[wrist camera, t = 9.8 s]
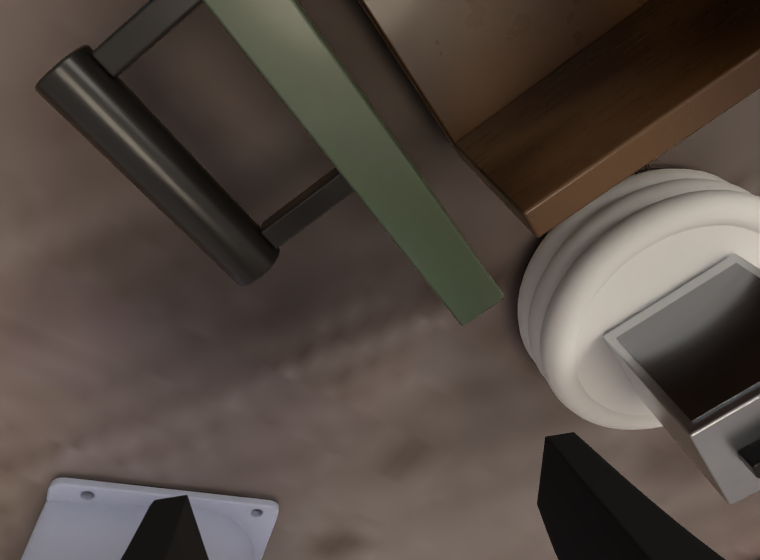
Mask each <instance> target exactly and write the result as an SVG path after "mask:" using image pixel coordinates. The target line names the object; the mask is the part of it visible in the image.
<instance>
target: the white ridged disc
mask: <svg viewBox="0 0 760 560" xmlns="http://www.w3.org/2000/svg"><path fill="white" fill-rule="evenodd" d="M732 254H737V255H738V256H740V257H742V258H743V259H745V260H746V261H748V262H750V263H751V264H753V265H754V266H756V267H758V268H759V269H760V197H758V196H755V195H752V194H751V193H750V192H748V191H746V190H744V189H742V188H740V187H739V186H736V185H733V184H730V183H729V182H727V181H725V180H723V179H721V178H719V177H718V176H715V175H712V174H709V173H706V172H703V171H697V170H691V169H658V170H651V171H646V172H642V173H638V174H634V175H631V176H629V177H628V178H626V179H625V180H623V181H622V182H620V183H619V184H617V185H616V186H614V187H613V188H611V189H610V190H608V191H607V192H606V193H604V194H603V195H601V196H600V197H598V198H597V199H595V200H594V201H592V202H591V203H589V204H588V205H586V206H585V207H583V208H582V209H580V210H579V211H577V212H576V213H575V214H573V215H572V216H570V217H569V218H567V219H566V220H564V221H563V222H561V223H560V224H558V225H557V226H555V227H554V228H552V229H551V230H550V231H549V233H548V234H547V235H546V237H545V238H544V239H543V240H542V242H541V243H540V245H539V246H538V248H537V250H536V251H535V253H534V255H533V256H532V258H531V260H530V262H529V264H528V267H527V269H526V271H525V273H524V276H523V280H522V283H521V286H520V290H519V297H518V323H519V329H520V335H521V338H522V341H523V344H524V346H525V348H526V350H527V352H528V354H529V355H530V357H531V358H532V359H533V361H534V362H535V363H536V365H537V367H538V369H539V371H540V372H541V374H542V375H543V376H544V378H545V379H546V380H547V382H548V384H549V386H550V388H551V390H552V391H553V392H554V394H555V395H556V396H557V398H558V399H559V400H560V401H561V402H562V403H563V404H564V405H565V406H566V407H567V408H568V409H570V410H571V411H572V412H574V413H575V414H577V415H578V416H580V417H581V418H583V419H585V420H587V421H589V422H591V423H593V424H596V425H600V426H603V427H607V428H614V429H624V430H637V429H650V428H656V427H662V426H663V425H662V424H661V423H660V422H659V421H658V419H657V418H656V417H655V416H654V415H653V413H652V412H651V411H650V410H649V409H648V407H647V406H646V405H645V404H644V403H643V401H642V400H641V398H640V397H639V395H638V393H637V392H636V390H635V388H634V387H633V385H632V384H631V382H630V380H629V379H628V377H627V376H626V374H625V372H624V371H623V369H622V367H621V366H620V364H619V363H618V361H617V359H616V358H615V356H614V355H613V353H612V351H611V350H610V348H609V346H608V345H607V343H606V342H605V340H604V338H603V336H604V335H605V334H607V333H608V332H610V331H612V330H613V329H615V328H616V327H618V326H619V325H621V324H623V323H624V322H626V321H627V320H629V319H631V318H632V317H634V316H635V315H637V314H639V313H640V312H642V311H643V310H645V309H647V308H648V307H650V306H651V305H653V304H654V303H656V302H658V301H659V300H661V299H662V298H664V297H666V296H667V295H669V294H670V293H672V292H674V291H675V290H677V289H678V288H680V287H681V286H683V285H685V284H686V283H688V282H689V281H691V280H693V279H694V278H696V277H697V276H699V275H701V274H702V273H704V272H705V271H707V270H708V269H710V268H712V267H713V266H715V265H716V264H718V263H720V262H721V261H723V260H724V259H726V258H728V257H729V256H731V255H732Z"/></svg>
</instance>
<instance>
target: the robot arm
mask: <svg viewBox="0 0 760 560" xmlns="http://www.w3.org/2000/svg"><path fill="white" fill-rule="evenodd" d="M86 491H89V492H86ZM537 505H538V508H539V510H540V513H541V516H542V519H543V522H544V524H545V527H546V530H547V533H548V535H549V538H550V540H551V543H552V546H553V548H554V551H555V553H556V555H557V557H558V559H559V560H725V559H724V558H722V557H721V556H720V555H718V554H717V553H716V552H714V551H713V550H712V549H711V548H709V547H708V546H707V545H705V544H704V543H703V542H701V541H700V540H699V539H698V538H696V537H695V536H694V535H692V534H691V533H690V532H689V531H687V530H686V529H685V528H684V527H682V526H681V525H680V524H679V523H677V522H676V521H675V520H674V519H673V518H671V517H670V516H669V515H668V514H667V513H665V512H664V511H663V510H662V509H661V508H659V507H658V506H657V505H656V504H655V503H653V502H652V501H651V500H650V499H649V498H647V497H646V496H645V495H644V494H643V493H642V492H640V491H639V490H638V489H637V488H636V487H635V486H634V485H632V484H631V483H630V482H629V481H628V480H627V479H626V478H624V477H623V476H622V475H621V474H620V473H619V472H618V471H617V470H615V469H614V468H613V467H612V466H611V465H610V464H609V463H608V462H607V461H605V460H604V459H603V458H602V457H601V456H600V455H599V454H598V453H597V452H595V451H594V450H593V449H592V448H591V447H590V446H589V445H588V444H587V443H585V442H584V441H583V440H582V439H581V438H580V437H579V436H578V435H576V434H575V433H574V432H572V433H566V434H559V435H553V436H547V437H545V444H544V452H543V460H542V468H541V476H540V485H539V493H538V501H537ZM255 509H258V510H255ZM278 513H279V506H278V504H277V503H276V502H275V501H272V500H265V499H256V498H247V497H238V496H229V495H220V494H211V493H202V492H192V491H183V490H174V489H165V488H156V487H147V486H138V485H129V484H120V483H111V482H102V481H93V480H84V479H75V478H66V477H60V478H57V479H54V480H53V481H52V482H51V484H50V486H49V488H48V491H47V499H46V503H45V505H44V507H43V510H42V512H41V514H40V516H39V519H38V521H37V523H36V525H35V528H34V530H33V532H32V535H31V537H30V539H29V541H28V544H27V546H26V548H25V550H24V553H23V555H22V557H21V560H261V559H262V556H263V554H264V551H265V548H266V546H267V543H268V540H269V538H270V535H271V533H272V530H273V527H274V525H275V522H276V519H277V517H278Z"/></svg>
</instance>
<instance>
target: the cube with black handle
mask: <svg viewBox="0 0 760 560" xmlns="http://www.w3.org/2000/svg"><path fill="white" fill-rule="evenodd" d="M603 338H604V340H605V342H606V343H607V345H608V346H609V348H610V350H611V351H612V353H613V355H614V356H615V358H616V359H617V361H618V363H619V364H620V366H621V367H622V369H623V371H624V372H625V374H626V376H627V377H628V379H629V380H630V382H631V384H632V385H633V387H634V388H635V390H636V392H637V393H638V395H639V397H640V398H641V400H642V401H643V403H644V404H645V405H646V406H647V407H648V409H649V410H650V411H651V412H652V413H653V415H654V416H655V417H656V418H657V419H658V421H659V422H660V423H661V424H662V425H663V427H664V428H665V429H666V430H667V431H668V433H669V434H670V435H671V436H672V437H673V439H674V440H675V441H676V442H677V443H678V444H679V446H680V447H681V448H682V449H683V450H684V452H685V453H686V454H687V455H688V456H689V458H690V459H691V460H692V461H693V462H694V464H695V465H696V466H697V467H698V468H699V470H700V471H701V472H702V473H703V474H704V476H705V477H706V478H707V479H708V480H709V482H710V483H711V484H712V485H713V486H714V488H715V489H716V490H717V491H718V492H719V494H720V495H721V496H722V497H723V498H724V500H725V501H726V502H727V503H728V504H729V505H733V504H735V503H736V502H738V501H740V500H742V499H744V498H746V497H747V496H749V495H751V494H753V493H755V492H757V491H758V490H760V269H759V268H758V267H756V266H754V265H753V264H751V263H750V262H748V261H746V260H745V259H743V258H742V257H740V256H738V255H737V254H732V255H731V256H729V257H728V258H726V259H724V260H723V261H721V262H720V263H718V264H716V265H715V266H713V267H712V268H710V269H708V270H707V271H705V272H704V273H702V274H701V275H699V276H697V277H696V278H694V279H693V280H691V281H689V282H688V283H686V284H685V285H683V286H681V287H680V288H678V289H677V290H675V291H674V292H672V293H670V294H669V295H667V296H666V297H664V298H662V299H661V300H659V301H658V302H656V303H654V304H653V305H651V306H650V307H648V308H647V309H645V310H643V311H642V312H640V313H639V314H637V315H635V316H634V317H632V318H631V319H629V320H627V321H626V322H624V323H623V324H621V325H619V326H618V327H616V328H615V329H613V330H612V331H610V332H608V333H607V334H605V335H604V336H603Z"/></svg>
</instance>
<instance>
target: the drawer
mask: <svg viewBox="0 0 760 560" xmlns="http://www.w3.org/2000/svg"><path fill="white" fill-rule="evenodd" d="M203 2H204V4H205V5H206V6H207V7H208V9H209V10H210V11H211V12H212V14H213V15H214V16H215V17H216V19H217V20H218V21H219V22H220V24H221V25H222V26H223V28H224V29H225V30H226V31H227V33H228V34H229V35H230V36H231V38H232V39H233V40H234V41H235V43H236V44H237V45H238V46H239V48H240V49H241V50H242V51H243V53H244V54H245V55H246V56H247V58H248V59H249V60H250V61H251V63H252V64H253V65H254V66H255V68H256V69H257V70H258V71H259V73H260V74H261V75H262V76H263V78H264V79H265V80H266V81H267V83H268V84H269V85H270V86H271V88H272V89H273V90H274V91H275V93H276V94H277V95H278V96H279V98H280V99H281V100H282V101H283V103H284V104H285V105H286V106H287V108H288V109H289V110H290V111H291V113H292V114H293V115H294V117H295V118H296V119H297V120H298V122H299V123H300V124H301V125H302V127H303V128H304V129H305V130H306V132H307V133H308V134H309V135H310V137H311V138H312V139H313V140H314V142H315V143H316V144H317V145H318V147H319V148H320V149H321V150H322V152H323V153H324V154H325V155H326V157H327V158H328V159H329V160H330V162H331V163H332V164H333V165H334V167H335V168H334V169H332V170H331V171H330V172H328V173H327V174H326V175H325V176H323V177H322V178H321V179H319V180H318V181H317V182H315V183H314V184H313V185H311V186H310V187H309V188H307V189H306V190H305V191H303V192H302V193H301V194H299V195H298V196H297V197H296V198H294V199H293V200H292V201H290V202H289V203H288V204H286V205H285V206H284V207H282V208H281V209H280V210H278V211H277V212H276V213H274V214H273V215H272V216H271V217H269V218H268V219H267V220H265V221H264V222H263V223H262V224H261V227H260V226H259V225H258V224H257V223H256V222H255V221H254V220H253V219H252V218H251V217H250V216H249V214H248V213H247V212H246V211H245V210H244V209H243V208H242V207H241V206H240V205H239V204H238V203H237V202H236V201H235V200H234V199H233V198H232V196H231V195H230V194H229V193H228V192H227V191H226V190H225V189H224V188H223V187H222V186H221V185H220V184H219V183H218V182H217V181H216V179H215V178H214V177H213V176H212V175H211V174H210V173H209V172H208V171H207V170H206V169H205V168H204V167H203V166H202V165H201V164H200V163H199V161H198V160H197V159H196V158H195V157H194V156H193V155H192V154H191V153H190V152H189V151H188V150H187V149H186V148H185V147H184V146H183V144H182V143H181V142H180V141H179V140H178V139H177V138H176V137H175V136H174V135H173V134H172V133H171V132H170V131H169V130H168V129H167V128H166V126H165V125H164V124H163V123H162V122H161V121H160V120H159V119H158V118H157V117H156V116H155V115H154V114H153V113H152V112H151V111H150V110H149V108H148V107H147V106H146V105H145V104H144V103H143V102H142V101H141V100H140V99H139V98H138V97H137V96H136V95H135V94H134V93H133V91H132V90H131V89H130V88H129V87H128V86H127V85H126V84H125V83H124V82H123V81H122V80H121V79H120V78H119V77H118V75H120V74H121V73H123V72H124V71H125V70H126V69H127V68H128V67H130V66H131V65H132V64H133V63H134V62H135V61H136V60H138V59H139V58H140V57H141V56H142V55H143V54H145V53H146V52H147V51H148V50H149V49H150V48H151V47H153V46H154V45H155V44H156V43H157V42H158V41H160V40H161V39H162V38H163V37H164V36H165V35H166V34H168V33H169V32H170V31H171V30H172V29H173V28H174V27H176V26H177V25H178V24H179V23H180V22H181V21H183V20H184V19H185V18H186V17H187V16H188V15H189V14H191V13H192V12H193V11H194V10H195V9H196V8H198V7H199V6H200V5H201V4H202V3H203ZM358 2H359V3H360V5H361V6H362V8H363V9H364V11H365V13H366V14H367V16H368V17H369V19H370V20H371V22H372V23H373V25H374V26H375V28H376V29H377V31H378V32H379V34H380V36H381V37H382V39H383V40H384V42H385V43H386V45H387V46H388V48H389V49H390V51H391V52H392V54H393V55H394V57H395V59H396V60H397V62H398V63H399V65H400V66H401V68H402V69H403V71H404V72H405V74H406V75H407V77H408V79H409V80H410V82H411V83H412V85H413V86H414V88H415V89H416V91H417V92H418V94H419V95H420V97H421V98H422V100H423V102H424V103H425V105H426V106H427V108H428V109H429V111H430V112H431V114H432V115H433V117H434V118H435V120H436V121H437V123H438V125H439V126H440V128H441V129H442V131H443V132H444V134H445V135H446V137H447V138H448V140H449V141H450V143H451V144H452V146H453V148H454V149H455V151H456V152H457V154H458V155H459V156H460V157H461V158H462V160H463V161H464V162H466V164H467V165H468V166H469V167H470V168H471V169H472V170H473V171H474V172H475V173H476V174H477V175H478V176H479V177H480V178H481V180H482V181H483V182H484V183H485V184H486V185H487V186H488V187H489V188H490V189H491V190H492V191H493V192H494V193H495V194H496V195H497V196H498V197H499V198H500V200H501V201H502V202H503V203H504V204H505V205H506V206H507V207H508V208H509V209H510V210H511V211H512V212H513V213H514V214H515V215H516V216H517V217H518V218H519V220H520V221H521V222H522V223H523V224H524V225H525V226H526V227H527V228H528V229H529V230H530V231H531V232H532V233H533V234H534V235H535V236H536V237H541V236H542V235H544V234H545V233H546V232H548V231H549V230H551V229H552V228H554V227H555V226H557V225H558V224H560V223H561V222H563V221H564V220H566V219H567V218H569V217H570V216H572V215H573V214H575V213H576V212H577V211H579V210H580V209H582V208H583V207H585V206H586V205H588V204H589V203H591V202H592V201H594V200H595V199H597V198H598V197H600V196H601V195H603V194H604V193H606V192H607V191H608V190H610V189H611V188H613V187H614V186H616V185H617V184H619V183H620V182H622V181H623V180H625V179H626V178H628V177H629V176H631V175H632V174H634V173H635V172H636V171H638V170H639V169H641V168H642V167H644V166H645V165H647V164H648V163H650V162H651V161H653V160H654V159H656V158H657V157H659V156H660V155H662V154H663V153H665V152H666V151H667V150H669V149H670V148H672V147H673V146H675V145H676V144H678V143H679V142H681V141H682V140H684V139H685V138H687V137H688V136H690V135H691V134H693V133H694V132H696V131H697V130H698V129H700V128H701V127H703V126H704V125H706V124H707V123H709V122H710V121H712V120H713V119H715V118H716V117H718V116H719V115H721V114H722V113H724V112H725V111H726V110H728V109H729V108H731V107H732V106H734V105H735V104H737V103H738V102H740V101H741V100H743V99H744V98H746V97H747V96H749V95H750V94H752V93H753V92H755V91H756V90H757V89H759V88H760V0H358ZM35 89H36V91H37V92H38V93H39V94H40V95H41V96H42V97H43V98H44V99H45V100H46V101H47V102H48V103H49V104H50V105H51V106H52V107H54V108H55V109H56V110H57V111H58V112H59V113H60V114H61V115H62V116H63V117H64V118H65V119H66V120H67V121H68V122H69V123H70V124H71V125H72V126H73V127H74V128H75V129H76V130H77V131H79V132H80V133H81V134H82V135H83V136H84V137H85V138H86V139H87V140H88V141H89V142H90V143H91V144H92V145H93V146H94V147H95V148H96V149H97V150H98V151H99V152H100V153H101V154H102V155H103V156H105V157H106V158H107V159H108V160H109V161H110V162H111V163H112V164H113V165H114V166H115V167H116V168H117V169H118V170H119V171H120V172H121V173H122V174H123V175H124V176H125V177H126V178H127V179H128V180H130V181H131V182H132V183H133V184H134V185H135V186H136V187H137V188H138V189H139V190H140V191H141V192H142V193H143V194H144V195H145V196H146V197H147V198H148V199H149V200H150V201H151V202H152V203H153V204H155V205H156V206H157V207H158V208H159V209H160V210H161V211H162V212H163V213H164V214H165V215H166V216H167V217H168V218H169V219H170V220H171V221H172V222H173V223H174V224H175V225H176V226H177V227H178V228H179V229H181V230H182V231H183V232H184V233H185V234H186V235H187V236H188V237H189V238H190V239H191V240H192V241H193V242H194V243H195V244H196V245H197V246H198V247H199V248H200V249H201V250H202V251H203V252H204V253H206V254H207V255H208V256H209V257H210V258H211V259H212V260H213V261H214V262H215V263H216V264H217V265H218V266H219V267H220V268H221V269H222V270H223V271H224V272H225V273H226V274H227V275H228V276H229V277H231V278H232V279H233V280H234V281H235V282H236V283H237V284H238V285H240V286H246V285H249V284H251V283H253V282H255V281H256V280H258V279H259V278H260V277H262V276H263V275H264V274H265V273H266V272H267V271H268V270H269V269H270V268H271V267H272V265H273V264H274V263H275V261H276V260H277V258H278V256H279V253H280V249H279V247H280V246H281V245H282V244H284V243H285V242H286V241H288V240H289V239H290V238H292V237H293V236H294V235H296V234H297V233H298V232H300V231H301V230H302V229H304V228H305V227H306V226H308V225H309V224H311V223H312V222H313V221H315V220H316V219H317V218H319V217H320V216H321V215H323V214H324V213H325V212H327V211H328V210H329V209H331V208H332V207H333V206H335V205H336V204H337V203H339V202H340V201H341V200H343V199H344V198H345V197H347V196H348V195H349V194H351V193H352V192H355V193H356V194H357V195H358V197H359V198H360V199H361V200H362V202H363V203H364V204H365V206H366V207H367V208H368V209H369V211H370V212H371V213H372V214H373V216H374V217H375V218H376V219H377V221H378V222H379V223H380V224H381V226H382V227H383V228H384V229H385V231H386V232H387V233H388V234H389V236H390V237H391V238H392V239H393V241H394V242H395V243H396V244H397V246H398V247H399V248H400V249H401V251H402V252H403V253H404V254H405V256H406V257H407V258H408V259H409V261H410V262H411V263H412V264H413V266H414V267H415V268H416V269H417V271H418V272H419V273H420V274H421V276H422V277H423V278H424V279H425V281H426V282H427V283H428V284H429V286H430V287H431V288H432V289H433V291H434V292H435V293H436V294H437V296H438V297H439V298H440V300H441V301H442V302H443V303H444V305H445V306H446V307H447V308H448V310H449V311H450V312H451V313H452V315H453V316H454V317H455V318H456V320H457V321H458V322H459V323H460V324H461V325H462V326H463V325H465V324H467V323H468V322H470V321H471V320H473V319H474V318H476V317H477V316H479V315H480V314H482V313H483V312H485V311H486V310H488V309H489V308H491V307H492V306H494V305H495V304H497V303H498V302H500V301H501V300H503V299H504V294H503V293H502V292H501V290H500V289H499V287H498V286H497V284H496V283H495V281H494V280H493V278H492V277H491V275H490V274H489V273H488V271H487V270H486V268H485V267H484V265H483V264H482V262H481V261H480V259H479V258H478V256H477V255H476V253H475V252H474V251H473V249H472V248H471V246H470V245H469V243H468V242H467V240H466V239H465V237H464V236H463V234H462V233H461V232H460V230H459V229H458V227H457V226H456V224H455V223H454V221H453V220H452V218H451V217H450V215H449V214H448V212H447V211H446V210H445V208H444V207H443V205H442V204H441V202H440V201H439V199H438V198H437V196H436V195H435V193H434V192H433V191H432V189H431V188H430V186H429V185H428V184H427V182H426V181H425V179H424V178H423V177H422V175H421V174H420V172H419V171H418V169H417V168H416V167H415V165H414V164H413V162H412V161H411V160H410V158H409V157H408V155H407V154H406V152H405V151H404V150H403V148H402V147H401V145H400V144H399V143H398V141H397V140H396V138H395V137H394V136H393V134H392V133H391V131H390V130H389V128H388V127H387V126H386V124H385V123H384V121H383V120H382V119H381V117H380V116H379V114H378V113H377V112H376V110H375V109H374V107H373V106H372V104H371V103H370V102H369V100H368V99H367V97H366V96H365V95H364V93H363V92H362V90H361V89H360V88H359V86H358V85H357V83H356V82H355V80H354V79H353V78H352V76H351V75H350V73H349V72H348V71H347V69H346V68H345V66H344V65H343V64H342V62H341V61H340V59H339V58H338V56H337V55H336V54H335V52H334V51H333V49H332V48H331V47H330V45H329V44H328V42H327V41H326V39H325V38H324V37H323V35H322V34H321V32H320V31H319V30H318V28H317V27H316V25H315V24H314V23H313V21H312V20H311V18H310V17H309V15H308V14H307V13H306V11H305V10H304V8H303V7H302V6H301V4H300V3H299V1H298V0H150V1H149V2H147V3H146V4H145V5H144V6H143V7H142V8H141V9H140V10H138V11H137V12H136V13H135V14H134V15H133V16H132V17H131V18H129V19H128V20H127V21H126V22H125V23H124V24H123V25H122V26H120V27H119V28H118V29H117V30H116V31H115V32H114V33H113V34H111V35H110V36H109V37H108V38H107V39H106V40H105V41H104V42H102V43H101V44H100V45H99V46H98V47H97V48H96V49H94V50H93V49H92V48H91V47H90V46H88V45H83V46H81V47H79V48H78V49H76V50H74V51H73V52H72V53H70V54H69V55H68V56H66V57H65V58H64V59H62V60H61V61H60V62H59V63H57V64H56V65H55V66H54V67H53V68H52V69H50V70H49V71H48V72H47V73H46V74H45V75H44V76H43V77H42V78H41V79H40V80H39V81H38V82H37V84H36V86H35Z"/></svg>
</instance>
